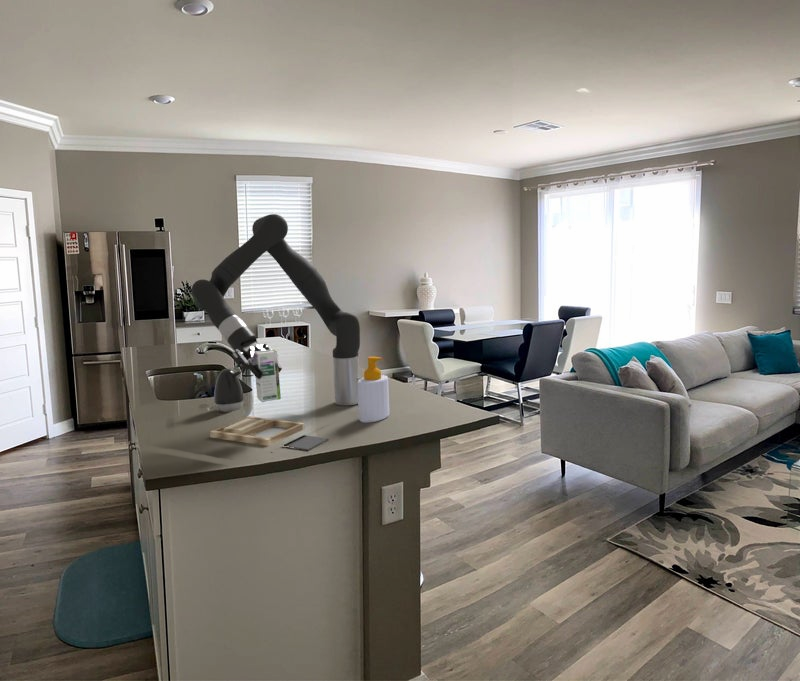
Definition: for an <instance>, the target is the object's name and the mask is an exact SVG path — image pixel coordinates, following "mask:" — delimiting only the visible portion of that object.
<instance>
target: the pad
mask: <svg viewBox="0 0 800 681" xmlns="http://www.w3.org/2000/svg"><path fill="white" fill-rule="evenodd" d="M327 440H328V441H329V440H330V439H329V438H328V437H322V436H321V437H320V436H313V435H312V436H311V435H306V434H303V435H301V436H298V437H296V438H295V439H293V440H291V441H288V442H287V443H285V444H283V445H284V446H289V447H294V448H298V449H297V450H299V449H303V450H302V451H306V450H308V452H309V451H311V450H313V449H315V448H317V447H319V446H320V444H321V445H322V444H324V443H326V442H328V441H327ZM325 441H326V442H325ZM323 442H324V443H323ZM318 445H319V446H318ZM316 446H317V447H316ZM314 447H315V448H314ZM312 448H313V449H312ZM310 449H311V450H310Z"/></svg>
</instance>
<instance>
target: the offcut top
mask: <svg viewBox="0 0 800 681" xmlns="http://www.w3.org/2000/svg"><path fill="white" fill-rule="evenodd" d="M243 419H244V418H243ZM261 424H264V420H258V419H248V418H247V419H244V420H242V421H240V422H237V423H235V424H233V425H230V426H228V427H225V428H224V432H228V433H235V434H240V433H242V432H244V431H247V430H249V429H252V428H254V427H256V426H259V425H261Z"/></svg>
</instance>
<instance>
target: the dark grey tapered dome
mask: <svg viewBox="0 0 800 681" xmlns="http://www.w3.org/2000/svg"><path fill="white" fill-rule="evenodd" d="M241 374H242V371H241V370H239V371H236V372H235V371H234V370H232V369H231V368H224V369H222V370H221V371H220V372H219V374H218V376H217V378H216V382H215V387H214V392H213V394H214V395H213V401H214V402H213V403H214V404H215V406H216V408H217V409H218V410H219V411H220V412H222V411H223V412H222V413H233V412H235V411H238V410H240V409H241V407H242V406H243V403H244V400H245V397H244V391H243V387H242V385H241V382H240V380H239V377H238V376H239V375H241ZM232 411H233V412H232Z"/></svg>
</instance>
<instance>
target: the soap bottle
mask: <svg viewBox="0 0 800 681" xmlns="http://www.w3.org/2000/svg"><path fill="white" fill-rule="evenodd" d="M379 361H383V357H379V356H368V357H367V366H368V367H367V368H366V369H365V370H364V372H363V377H362V378H360V380H358V382H357V388H358V404H357V405H358V420H359V421H360V423H367V424H368V423H369V424H370V423H374V422H379V421H382V420H384V419H386V418H388V417H389V415H390V393H389V392H390V391H389V377H388V376H387V375H384V374H382V370H381V369H380V368H378V367H377V362H379Z"/></svg>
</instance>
